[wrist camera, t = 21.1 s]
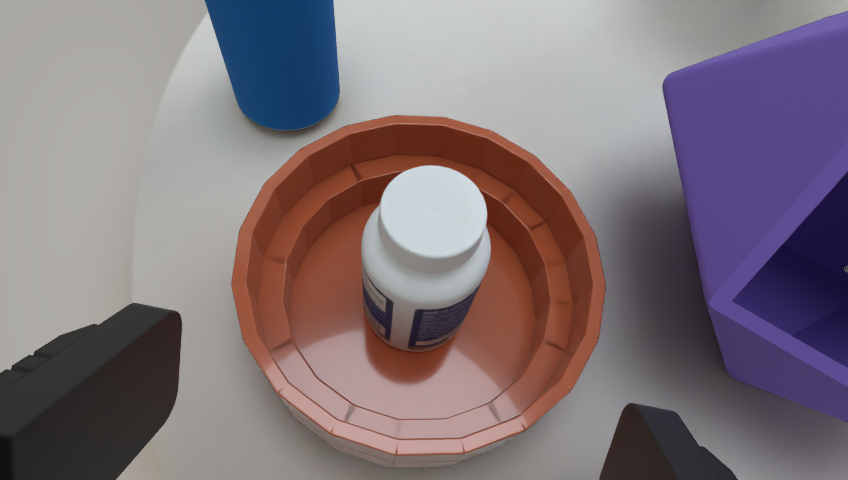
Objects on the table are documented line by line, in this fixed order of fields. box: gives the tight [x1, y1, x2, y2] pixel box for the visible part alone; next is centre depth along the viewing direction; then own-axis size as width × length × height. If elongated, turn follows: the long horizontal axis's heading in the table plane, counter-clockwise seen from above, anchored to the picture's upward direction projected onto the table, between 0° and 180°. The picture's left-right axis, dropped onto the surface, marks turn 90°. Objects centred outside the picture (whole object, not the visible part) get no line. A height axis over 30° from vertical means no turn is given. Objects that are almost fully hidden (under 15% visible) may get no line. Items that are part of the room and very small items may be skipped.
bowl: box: [231, 115, 606, 468], centre depth 26 cm, size 16×16×6 cm
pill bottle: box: [361, 165, 491, 352], centre depth 24 cm, size 5×5×10 cm
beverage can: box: [205, 0, 340, 131], centre depth 29 cm, size 6×6×12 cm
